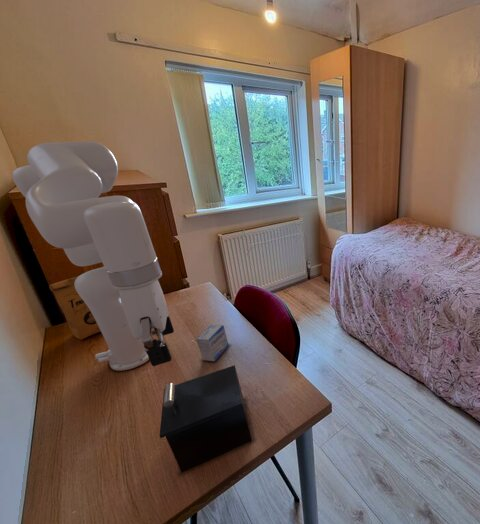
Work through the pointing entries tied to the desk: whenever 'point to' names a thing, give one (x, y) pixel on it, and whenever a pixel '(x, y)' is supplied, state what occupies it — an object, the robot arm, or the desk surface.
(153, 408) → the desk surface
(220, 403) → the bin lid
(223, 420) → the bin
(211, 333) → the medicine box
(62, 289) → the coffee package
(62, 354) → the desk surface
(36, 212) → the robot arm
